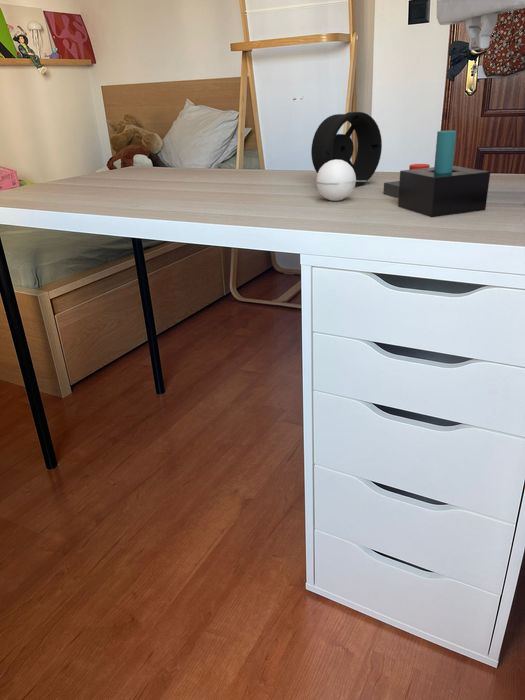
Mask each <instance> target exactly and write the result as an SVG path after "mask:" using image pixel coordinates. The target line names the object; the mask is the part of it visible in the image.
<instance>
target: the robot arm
mask: <svg viewBox="0 0 525 700" xmlns="http://www.w3.org/2000/svg"><path fill="white" fill-rule="evenodd" d="M521 9H525V0H436V20H437V22H438V24H439V25H440V26H448V25H449V26H450V25H459V24H462V23H465V30H466V33H467V35H468V39H469V43H468V49H469V51H478V50H484V49H489V47H490V45H491V44H490V43H491V36H492V34H493V32H494V30H495V28H496V25H497V23H498V17H499V15H501V14H505V13H509V12H514V11H517V10H521Z"/></svg>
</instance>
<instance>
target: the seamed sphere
mask: <svg viewBox="0 0 525 700" xmlns="http://www.w3.org/2000/svg"><path fill="white" fill-rule="evenodd" d="M315 182H316V188H317V190H318V192H319V194H320V195H321V196H322V197H323V198H324V199H326V200H329V201H331V202H339V201H343V200H345V199H346V198H348V197H349V196H350V195H351V194H352V193H353V191H354V189H355V188H356V187H355V183H356V175H355V172H354V170H353V168H352V167H351V166H350V165H349V164H348V163H347V162H345V161H343V160H330V161H329V162H327V163H325V164H324V165H323V166H322V167H321V168H320V169H319V172H318V174H316V179H315Z"/></svg>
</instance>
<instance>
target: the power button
mask: <svg viewBox="0 0 525 700" xmlns="http://www.w3.org/2000/svg"><path fill="white" fill-rule="evenodd" d="M408 166H409V168H408V170H412V169H422V168H431V167H430V164H428V163H413V164H409V165H408Z"/></svg>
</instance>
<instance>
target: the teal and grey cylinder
mask: <svg viewBox="0 0 525 700" xmlns="http://www.w3.org/2000/svg"><path fill="white" fill-rule="evenodd" d="M456 139H457V131H456V130H438V131H437V133H436V144H435V154H434V166H433V167H434V172H435V173H440V174H442V173H451V172H452V168H453V166H454V159H455V147H456Z"/></svg>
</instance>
